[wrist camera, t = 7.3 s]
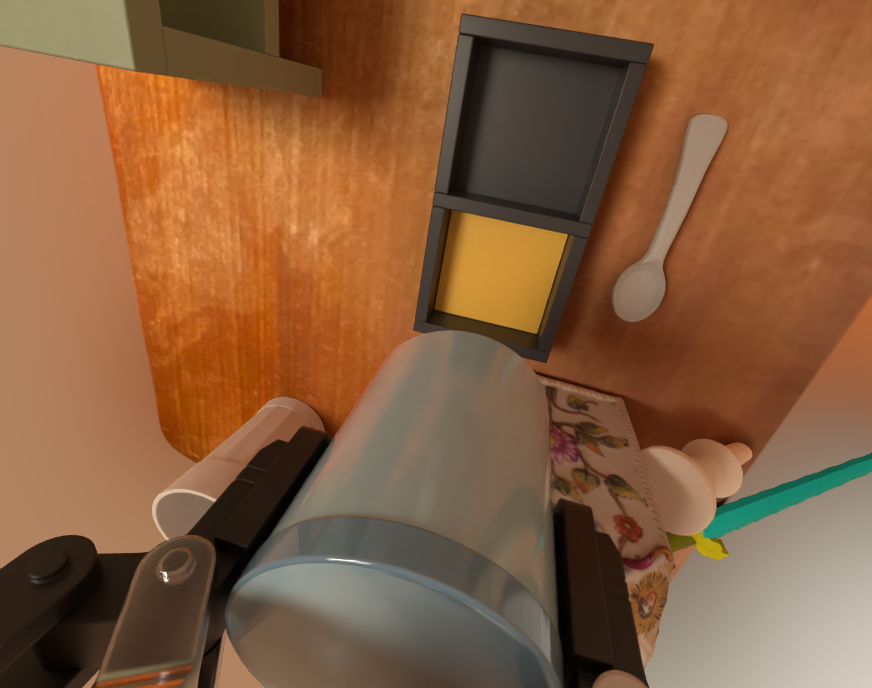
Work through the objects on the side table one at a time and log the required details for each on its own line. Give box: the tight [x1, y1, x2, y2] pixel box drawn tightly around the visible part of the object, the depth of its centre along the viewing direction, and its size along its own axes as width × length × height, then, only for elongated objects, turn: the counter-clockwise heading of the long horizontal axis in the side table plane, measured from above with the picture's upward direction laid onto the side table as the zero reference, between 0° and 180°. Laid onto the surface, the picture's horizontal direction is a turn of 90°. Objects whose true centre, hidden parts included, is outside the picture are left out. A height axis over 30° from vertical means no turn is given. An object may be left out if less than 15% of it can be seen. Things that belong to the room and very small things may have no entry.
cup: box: [152, 397, 325, 540], centre depth 34 cm, size 8×8×12 cm
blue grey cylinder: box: [224, 330, 565, 688], centre depth 11 cm, size 6×6×8 cm
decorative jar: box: [536, 374, 675, 668], centre depth 26 cm, size 12×12×18 cm
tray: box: [413, 14, 654, 363], centre depth 25 cm, size 17×9×3 cm, turn 171°
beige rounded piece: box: [641, 439, 752, 536], centre depth 28 cm, size 5×5×10 cm
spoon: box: [611, 114, 728, 322], centre depth 25 cm, size 3×12×2 cm, turn 170°
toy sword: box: [665, 453, 872, 560], centre depth 32 cm, size 3×6×30 cm
